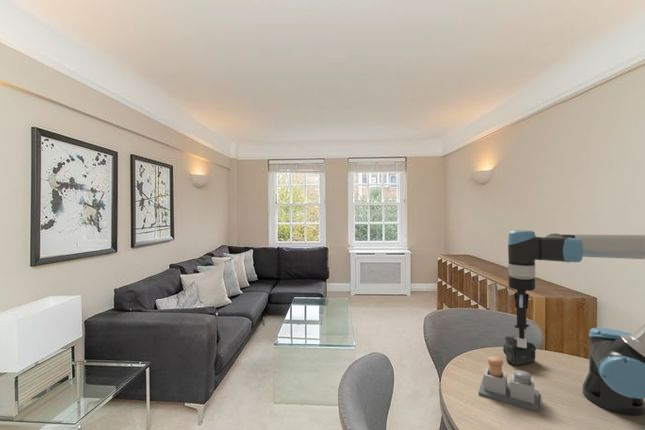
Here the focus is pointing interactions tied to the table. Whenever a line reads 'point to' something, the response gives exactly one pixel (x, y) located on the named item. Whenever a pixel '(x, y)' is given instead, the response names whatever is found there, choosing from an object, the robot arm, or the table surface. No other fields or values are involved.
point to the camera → (518, 352)
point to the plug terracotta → (495, 366)
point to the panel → (510, 391)
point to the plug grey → (522, 377)
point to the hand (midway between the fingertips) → (521, 346)
